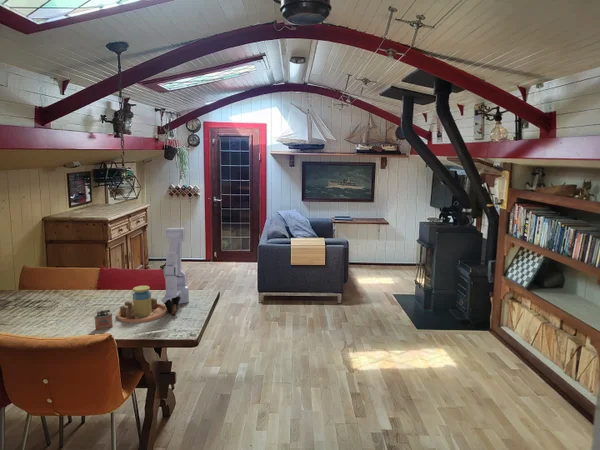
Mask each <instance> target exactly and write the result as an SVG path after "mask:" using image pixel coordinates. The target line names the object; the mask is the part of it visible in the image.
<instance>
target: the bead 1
mask: <svg viewBox="0 0 600 450" xmlns="http://www.w3.org/2000/svg"><path fill="white" fill-rule="evenodd" d="M157 303H158V299H157V297H151V306H152V309H156V308H157Z"/></svg>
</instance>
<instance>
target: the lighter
mask: <svg viewBox="0 0 600 450" xmlns="http://www.w3.org/2000/svg"><path fill="white" fill-rule="evenodd" d="M94 325H95V326H94V327H95V331H101V330H107V329H111V328H113V327H114V326H113V313H111V309H109V308H108V309H101V310H99V311H96V315H94Z"/></svg>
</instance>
